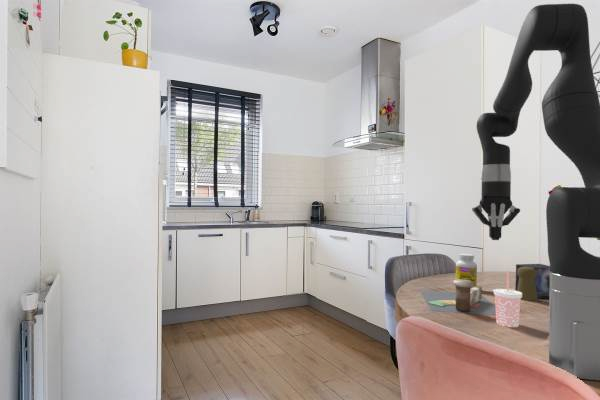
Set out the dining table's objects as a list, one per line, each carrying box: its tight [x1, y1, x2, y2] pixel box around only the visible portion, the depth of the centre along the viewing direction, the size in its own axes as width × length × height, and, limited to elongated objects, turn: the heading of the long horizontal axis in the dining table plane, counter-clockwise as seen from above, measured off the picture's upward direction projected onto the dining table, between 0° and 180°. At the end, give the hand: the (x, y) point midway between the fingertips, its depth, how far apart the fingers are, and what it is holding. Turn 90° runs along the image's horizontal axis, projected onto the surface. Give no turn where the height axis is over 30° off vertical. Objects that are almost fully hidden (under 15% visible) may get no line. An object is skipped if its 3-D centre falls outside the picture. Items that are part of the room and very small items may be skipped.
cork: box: [517, 267, 539, 302], centre depth 112 cm, size 6×6×11 cm
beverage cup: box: [493, 270, 522, 328], centre depth 88 cm, size 6×6×14 cm
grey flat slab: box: [419, 289, 496, 316], centre depth 108 cm, size 24×19×2 cm
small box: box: [514, 263, 550, 300], centre depth 120 cm, size 11×6×10 cm, turn 105°
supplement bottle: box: [455, 253, 478, 289], centre depth 126 cm, size 7×7×13 cm
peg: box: [453, 278, 483, 311], centre depth 103 cm, size 17×5×8 cm, turn 139°
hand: (495, 239), depth 106 cm, fingers closed
